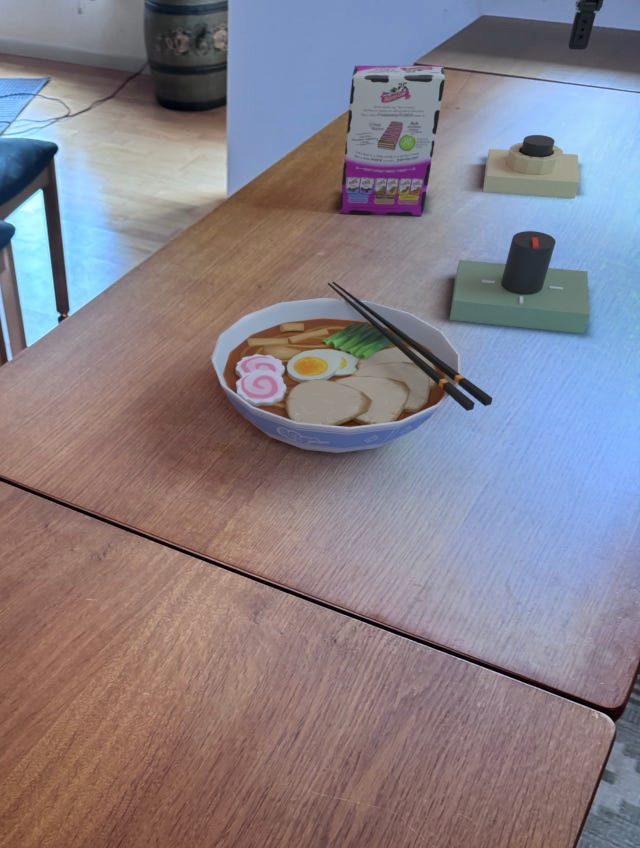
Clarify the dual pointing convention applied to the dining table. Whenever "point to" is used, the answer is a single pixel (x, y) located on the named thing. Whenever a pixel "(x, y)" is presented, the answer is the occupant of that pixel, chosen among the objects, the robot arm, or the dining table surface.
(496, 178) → the housing
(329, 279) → the dining table surface
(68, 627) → the dining table surface
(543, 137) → the button
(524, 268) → the knob
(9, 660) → the dining table surface
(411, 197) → the candy bar box
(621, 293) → the dining table surface
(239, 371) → the ramen bowl
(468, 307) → the panel
